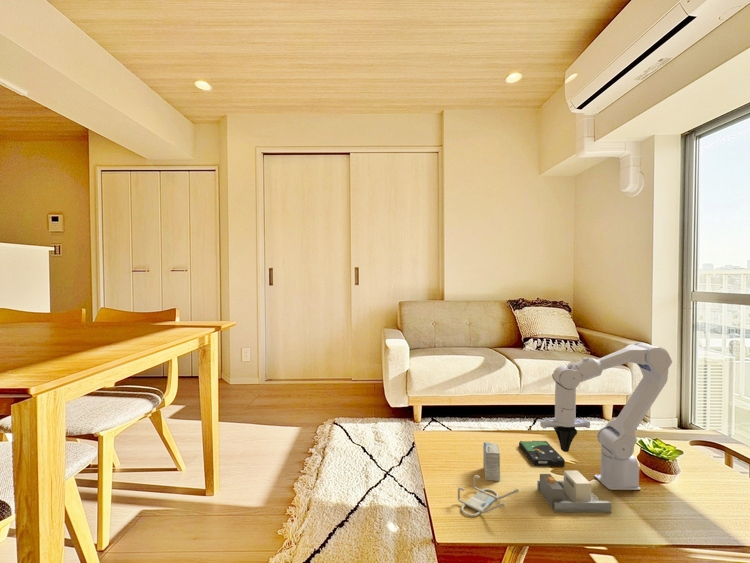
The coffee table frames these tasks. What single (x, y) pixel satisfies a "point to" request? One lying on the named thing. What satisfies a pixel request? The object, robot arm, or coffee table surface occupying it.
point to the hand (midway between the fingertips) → (564, 450)
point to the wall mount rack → (482, 500)
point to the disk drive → (541, 453)
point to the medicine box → (491, 461)
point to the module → (576, 486)
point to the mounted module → (551, 489)
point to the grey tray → (579, 504)
